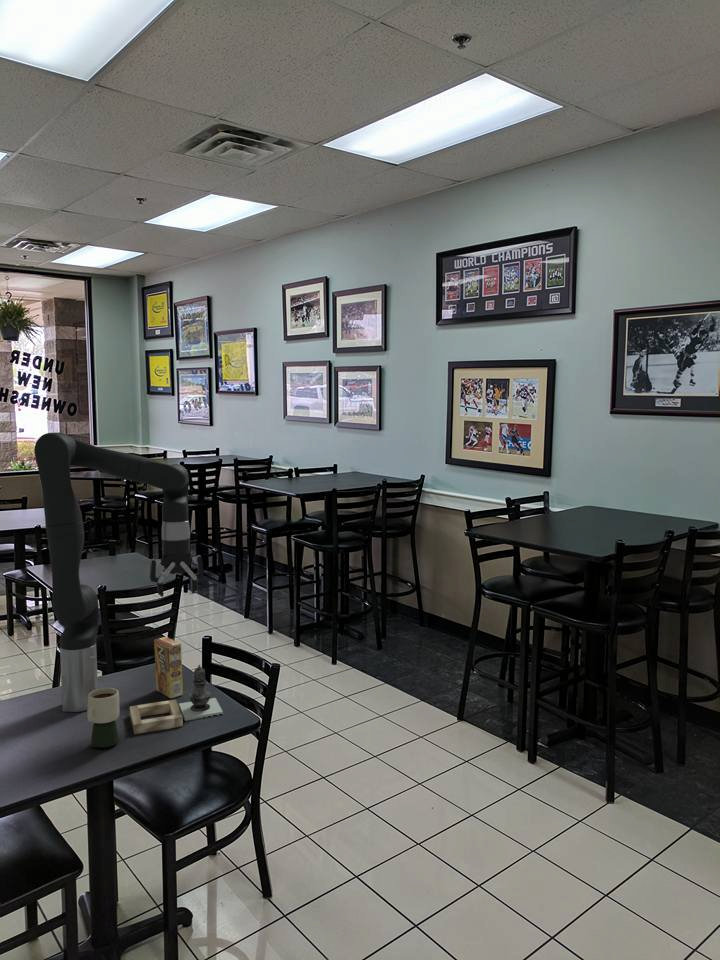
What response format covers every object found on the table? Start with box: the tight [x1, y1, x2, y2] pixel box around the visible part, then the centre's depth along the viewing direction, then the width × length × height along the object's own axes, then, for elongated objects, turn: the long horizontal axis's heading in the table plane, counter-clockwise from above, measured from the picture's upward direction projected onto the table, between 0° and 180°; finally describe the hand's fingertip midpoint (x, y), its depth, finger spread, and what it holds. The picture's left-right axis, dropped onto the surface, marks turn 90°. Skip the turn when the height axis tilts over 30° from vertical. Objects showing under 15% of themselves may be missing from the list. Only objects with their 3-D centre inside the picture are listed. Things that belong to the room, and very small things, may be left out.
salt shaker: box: [188, 664, 212, 712], centre depth 191 cm, size 6×6×12 cm
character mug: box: [86, 687, 120, 748], centre depth 171 cm, size 11×7×13 cm, turn 161°
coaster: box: [178, 697, 224, 722], centre depth 192 cm, size 10×10×1 cm
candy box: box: [153, 636, 184, 699], centre depth 203 cm, size 9×4×15 cm, turn 44°
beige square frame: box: [129, 698, 184, 735], centre depth 185 cm, size 12×12×2 cm
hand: (177, 594), depth 196 cm, fingers open, 8 cm apart
